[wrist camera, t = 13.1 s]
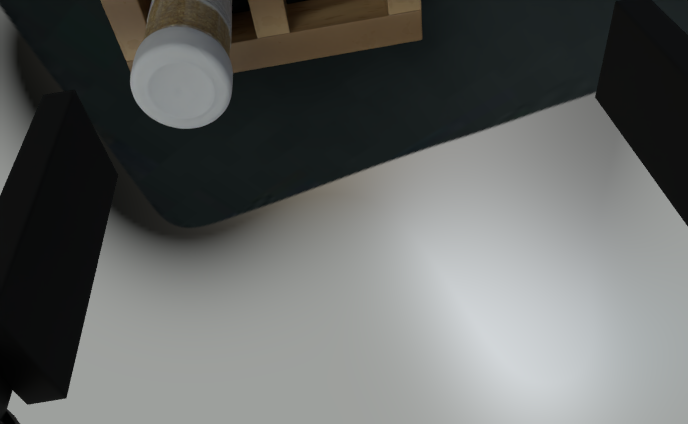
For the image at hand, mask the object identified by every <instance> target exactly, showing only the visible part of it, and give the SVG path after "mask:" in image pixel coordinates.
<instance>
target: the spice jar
mask: <svg viewBox="0 0 688 424" xmlns="http://www.w3.org/2000/svg"><path fill="white" fill-rule="evenodd" d="M231 32H232V0H152V1H151V5H150V10H149V14H148V18H147V24H146V32H145V35H144V40H143V42H142V43H141V44H140V46H139V47H138V49H137V51H136V54H135V57H134V61H133V65H132V71H131V77H130V85H131V90H132V93H133V96H134V98H135V100H136V102H137V104H138V105H139V107H140V108H141V109H142V110H143V111H144V112H145V113H146V114H147V115H148V116H150V117H151V118H152V119H154V120H156V121H158V122H159V123H162V124H164V125H167V126H170V127H175V128H181V129H191V128H198V127H202V126H204V125H207V124H209V123H211V122H213V121H215V120H216V119H217V118H218V117H220V116H221V115H222V113H223V112H224V111H225V110H226V108H227V107H228V104H229V102H230V99H231V94H232V83H233V70H232V64H231V61H230V59H229V55H230V48H231Z"/></svg>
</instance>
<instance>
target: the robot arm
mask: <svg viewBox="0 0 688 424" xmlns="http://www.w3.org/2000/svg"><path fill="white" fill-rule="evenodd" d="M595 98H596V99H597V100H598V102H599V103H600V105H601V106H602V107H603V109H604V110H605V111H606V113H607V114H608V116H609V117H610V118H611V120H612V121H613V123H614V124H615V126H616V127H617V128H618V130H619V131H620V133H621V134H622V135H623V137H624V138H625V139H626V141H627V142H628V143H629V145H630V146H631V148H632V149H633V151H634V152H635V153H636V155H637V156H638V158H639V159H640V160H641V162H642V163H643V165H644V166H645V167H646V169H647V170H648V172H649V173H650V174H651V176H652V177H653V178H654V180H655V181H656V183H657V184H658V186H659V187H660V188H661V190H662V191H663V192H664V194H665V195H666V197H667V198H668V199H669V201H670V202H671V204H672V205H673V206H674V208H675V209H676V211H677V212H678V213H679V215H680V216H681V218H682V219H683V220H684V222H685V223H686V225H687V226H688V35H687V34H686V33H685V32H684V31H683V30H682V29H681V28H680V27H679V26H678V25H677V24H676V23H675V22H673V21H672V20H671V19H670V18H669V17H668V16H667V15H666V14H665V13H664V12H663V11H662V10H661V9H660V8H659V7H658V6H657V5H656V4H655V3H654V2H653V1H652V0H622V1H616V2H615V7H614V11H613V16H612V21H611V25H610V30H609V35H608V40H607V44H606V49H605V54H604V58H603V63H602V68H601V73H600V77H599V82H598V87H597V91H596V96H595ZM117 178H118V174H117V172H116V170H115V168H114V166H113V164H112V162H111V160H110V158H109V157H108V154H107V152H106V150H105V148H104V147H103V144H102V143H101V141H100V139H99V137H98V135H97V133H96V131H95V129H94V127H93V125H92V123H91V121H90V119H89V117H88V115H87V113H86V111H85V109H84V107H83V105H82V103H81V101H80V99H79V97H78V95H77V93H76V91H75V90H70V91H64V92H58V93H52V94H46V95H43V96H42V99H41V101H40V103H39V106H38V108H37V111H36V113H35V115H34V118H33V120H32V122H31V125H30V127H29V130H28V132H27V134H26V136H25V139H24V141H23V143H22V146H21V148H20V150H19V153H18V155H17V158H16V160H15V162H14V164H13V167H12V169H11V172H10V174H9V176H8V179H7V181H6V183H5V186H4V188H3V190H2V193H1V195H0V424H20V423H19V422H18V421H17V419H16V417H15V416H14V415H13V414H12V413H11V412H10V411H9V410H7V406H8V403H9V400H10V397H11V393H12V390H13V391H14V392H15V393H16V394H17V395H18V396H19V397H20V398H21V399H22V400H23V401H24V402H25V403H26V404H34V403H40V402H46V401H53V400H58V399H65V398H66V397H67V393H68V389H69V384H70V380H71V376H72V371H73V367H74V363H75V359H76V354H77V350H78V346H79V341H80V337H81V333H82V328H83V324H84V320H85V315H86V311H87V307H88V303H89V298H90V294H91V290H92V285H93V281H94V277H95V272H96V268H97V264H98V259H99V255H100V251H101V247H102V242H103V238H104V234H105V229H106V225H107V221H108V216H109V212H110V208H111V203H112V199H113V194H114V190H115V186H116V182H117Z"/></svg>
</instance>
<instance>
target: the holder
mask: <svg viewBox="0 0 688 424" xmlns="http://www.w3.org/2000/svg"><path fill="white" fill-rule="evenodd" d="M151 1H152V0H101V3H102V5H103V7H104V10H105V12H106V14H107V17H108V19H109V22H110V24H111V26H112V29H113V31H114V33H115V36H116V38H117V40H118V43H119V45H120V47H121V50H122V52H123V55H124V57H125V59H126V61H127V64H128V67H129V69H130V71H132V65H133V61H134V57H135V54H136V51H137V49H138V47H139V46H140V44H141V43H142V42H143V40H144V35H145V32H146V24H147V18H148V14H149V10H150V5H151ZM248 3H249V7H250V11H245V12H240V13H234V14H232V32H231V48H230V55H229V59H230V61H231V64H232V70H233V73H236V72H241V71H247V70H253V69H259V68H264V67H270V66H276V65H281V64H287V63H293V62H298V61H304V60H310V59H315V58H321V57H327V56H333V55H338V54H344V53H350V52H355V51H361V50H367V49H372V48H378V47H384V46H390V45H395V44H401V43H407V42H412V41H418V40H422V14H421V0H308V1H302V2H297V3H291V4H287V3H286V0H248Z"/></svg>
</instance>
